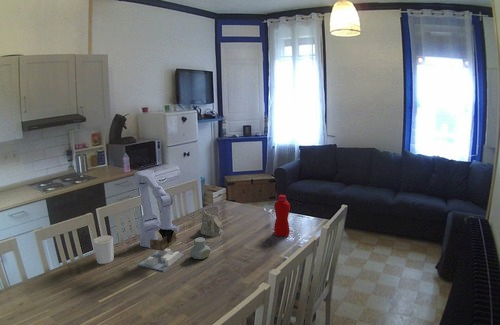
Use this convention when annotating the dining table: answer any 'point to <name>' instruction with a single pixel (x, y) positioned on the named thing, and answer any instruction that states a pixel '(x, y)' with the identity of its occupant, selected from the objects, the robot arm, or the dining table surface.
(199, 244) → the air freshener
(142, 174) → the robot arm
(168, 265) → the display stand
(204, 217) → the beige rock
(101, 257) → the candle holder
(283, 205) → the water bottle
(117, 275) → the dining table surface
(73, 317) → the dining table surface
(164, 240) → the wooden c-shaped bracket
